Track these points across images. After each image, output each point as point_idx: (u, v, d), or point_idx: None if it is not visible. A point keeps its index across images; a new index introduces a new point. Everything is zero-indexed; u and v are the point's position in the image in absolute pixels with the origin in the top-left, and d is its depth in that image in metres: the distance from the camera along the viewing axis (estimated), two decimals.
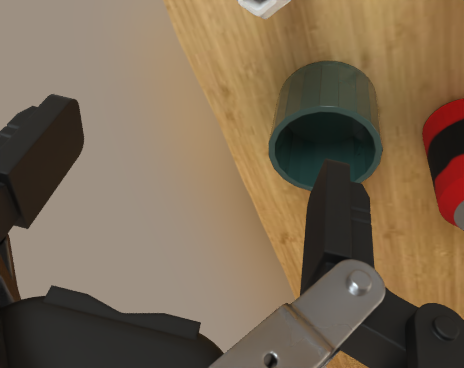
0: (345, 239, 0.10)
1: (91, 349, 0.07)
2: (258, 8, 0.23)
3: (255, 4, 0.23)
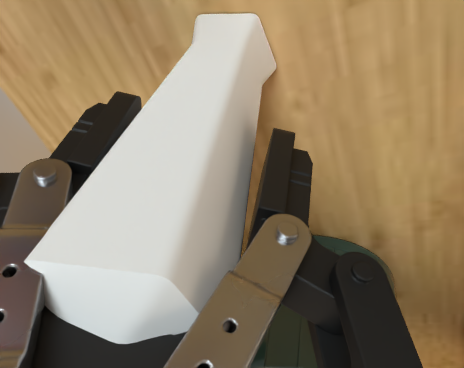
0: (281, 197, 0.11)
1: (91, 349, 0.07)
2: None
3: None
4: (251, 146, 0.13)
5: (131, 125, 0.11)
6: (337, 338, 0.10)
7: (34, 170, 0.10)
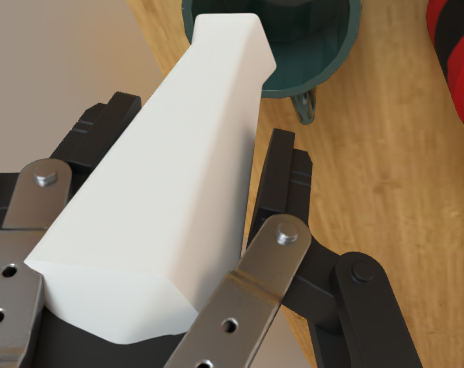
0: (281, 197, 0.11)
1: (91, 349, 0.07)
2: None
3: None
4: (251, 146, 0.13)
5: (131, 125, 0.11)
6: (337, 338, 0.10)
7: (34, 170, 0.10)
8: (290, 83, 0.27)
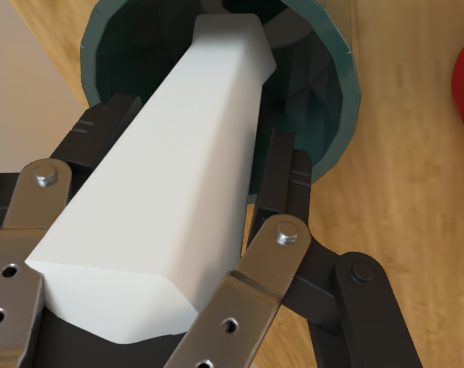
0: (280, 197, 0.11)
1: (91, 349, 0.07)
2: None
3: None
4: (251, 146, 0.13)
5: (131, 125, 0.11)
6: (337, 338, 0.10)
7: (34, 170, 0.10)
8: (256, 184, 0.18)
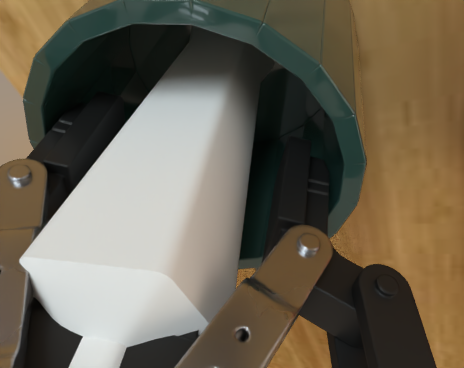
0: (300, 207, 0.11)
1: None
2: None
3: None
4: (250, 143, 0.13)
5: (129, 121, 0.11)
6: (356, 351, 0.10)
7: (8, 171, 0.10)
8: (242, 247, 0.16)
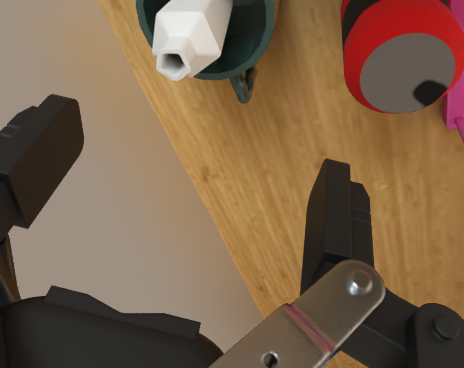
0: (345, 239, 0.10)
1: (91, 349, 0.07)
2: (176, 74, 0.25)
3: (173, 70, 0.25)
4: (230, 8, 0.30)
5: None
6: None
7: None
8: (227, 68, 0.33)
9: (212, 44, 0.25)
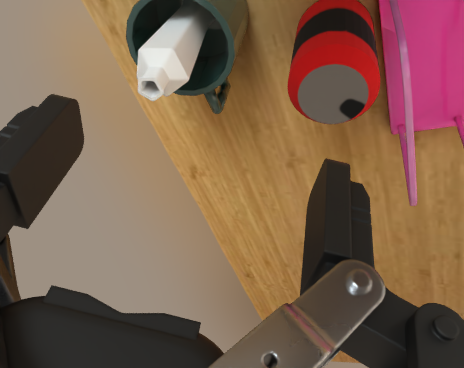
0: (345, 239, 0.10)
1: (91, 349, 0.07)
2: (153, 95, 0.32)
3: (151, 92, 0.33)
4: (201, 39, 0.38)
5: (161, 27, 0.36)
6: None
7: None
8: (201, 85, 0.41)
9: (181, 72, 0.33)
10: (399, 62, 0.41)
